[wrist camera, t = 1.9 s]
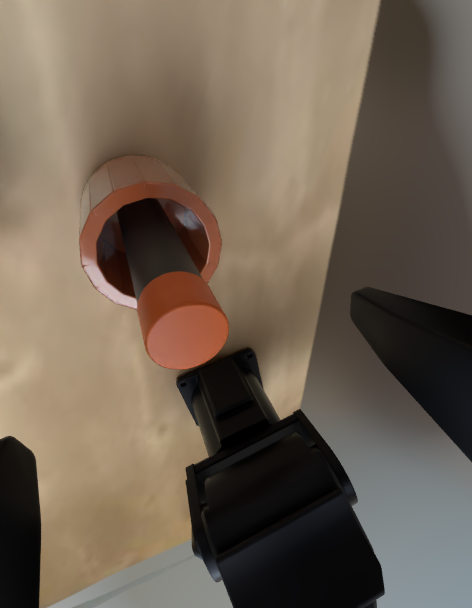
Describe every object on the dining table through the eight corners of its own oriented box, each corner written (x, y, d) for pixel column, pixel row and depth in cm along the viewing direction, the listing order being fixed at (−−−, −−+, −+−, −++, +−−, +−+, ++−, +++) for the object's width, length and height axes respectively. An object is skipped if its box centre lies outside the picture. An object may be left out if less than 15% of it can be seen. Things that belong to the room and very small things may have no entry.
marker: (170, 229, 17) (236, 350, 10) (128, 243, 17) (162, 382, 10) (155, 185, 16) (219, 290, 8) (108, 200, 16) (130, 324, 8)
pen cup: (203, 241, 19) (232, 283, 15) (110, 274, 18) (117, 328, 14) (174, 140, 16) (203, 162, 12) (57, 174, 15) (48, 211, 11)
